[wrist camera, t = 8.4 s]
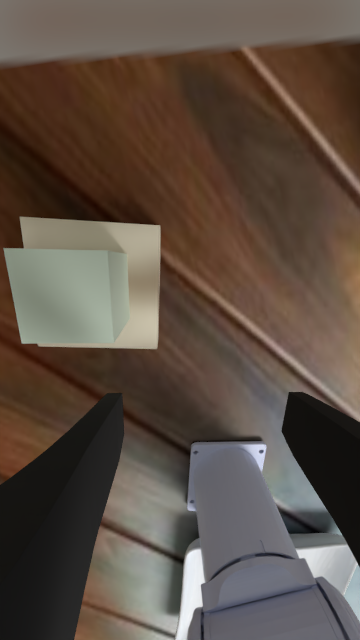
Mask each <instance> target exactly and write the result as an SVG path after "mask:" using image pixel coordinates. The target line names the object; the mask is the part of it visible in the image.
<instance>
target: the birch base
mask: <svg viewBox="0 0 360 640" xmlns="http://www.w3.org/2000/svg"><path fill="white" fill-rule="evenodd" d="M20 224H21V231H22V238H23V245H24V249H62V250H105V251H113V252H119V253H125V254H127V264H128V287H129V309H130V319H129V320H128V322H127V324H126V325H125V327H124V328H123V330H122V331H121V333H120V334H119V336H118V337H117V339H116V341H115V342H114V343H38V346H44V347H90V348H136V349H157V346H158V333H159V289H160V246H161V228H160V225H146V224H130V223H113V222H97V221H81V220H65V219H49V218H33V217H20Z"/></svg>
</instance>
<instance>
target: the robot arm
mask: <svg viewBox="0 0 360 640" xmlns="http://www.w3.org/2000/svg"><path fill="white" fill-rule="evenodd" d="M282 433H283V435H284V437H285V440H286V442H287V444H288V446H289V448H290V450H291V452H292V454H293V456H294V458H295V459H296V461H297V463H298V464H299V466H300V467H301V469H302V471H303V472H304V474H305V475H306V477H307V479H308V480H309V482H310V483H311V485H312V486H313V488H314V490H315V491H316V493H317V494H318V496H319V498H320V499H321V501H322V502H323V504H324V505H325V507H326V509H327V510H328V512H329V513H330V515H331V517H332V518H333V520H334V521H335V523H336V525H337V527H338V528H339V530H340V532H341V533H342V535H343V537H344V539H345V541H346V542H347V544H348V546H349V548H350V550H351V552H352V554H353V556H354V557H355V559H356V561H357V563H358V565H359V567H360V422H358V421H356V420H355V419H353V418H351V417H349V416H347V415H345V414H344V413H342V412H340V411H338V410H336V409H334V408H333V407H331V406H329V405H327V404H325V403H323V402H322V401H320V400H318V399H316V398H314V397H312V396H310V395H308V394H306V393H303V392H289V395H288V400H287V405H286V410H285V415H284V421H283V426H282ZM123 437H124V421H123V400H122V393H107V394H106V395H105V396H104V397H103V398H102V399H101V400H100V401H99V402H98V403H97V404H96V405H95V406H94V407H93V408H92V409H91V410H90V411H89V412H88V413H87V414H86V415H85V416H84V417H83V418H81V419H80V420H79V421H78V422H77V423H76V424H75V425H74V426H73V427H72V428H71V429H70V430H69V431H68V432H67V433H65V434H64V435H63V436H62V437H61V438H60V439H58V440H57V441H56V442H55V443H54V444H53V445H52V446H50V447H49V448H48V449H47V450H46V451H45V452H43V453H42V454H41V455H40V456H38V457H37V458H36V459H35V460H33V461H32V462H31V463H29V464H28V465H27V466H26V467H24V468H23V469H22V470H20V471H19V472H18V473H16V474H15V475H14V476H12V477H11V478H9V479H8V480H7V481H5V482H4V483H3V484H1V485H0V640H74V637H75V632H76V627H77V623H78V618H79V613H80V609H81V604H82V599H83V594H84V590H85V585H86V581H87V576H88V572H89V567H90V563H91V558H92V554H93V549H94V545H95V541H96V537H97V534H98V530H99V526H100V523H101V520H102V516H103V513H104V510H105V506H106V503H107V500H108V496H109V493H110V490H111V486H112V483H113V479H114V476H115V473H116V469H117V466H118V462H119V459H120V453H121V448H122V443H123ZM265 452H266V444H265V443H264V442H262V441H249V442H195V443H193V444H192V445H191V454H190V469H189V484H188V499H187V509H188V510H189V511H196V512H197V521H198V530H199V538H200V547H201V556H202V565H203V573H204V580H205V583H203V584H201V593H202V603H203V606H202V607H198V608H196V609H195V610H194V612H193V616H192V620H191V622H190V625H189V628H188V633H187V640H360V622H359V620H358V619H357V617H356V615H355V613H354V612H353V610H352V609H351V607H350V605H349V604H348V602H347V601H346V599H345V598H344V596H343V595H342V594H341V593H340V591H339V590H338V589H337V588H335V587H334V586H333V585H331V584H330V583H329V582H328V581H327V580H326V579H325V578H324V577H322V576H321V577H317V578H314V577H313V574H312V572H311V570H310V568H309V566H308V564H307V561H306V559H305V558H299V556H298V554H297V551H296V549H295V547H294V545H293V542H292V540H291V538H290V536H289V533H288V531H287V529H286V526H285V524H284V522H283V520H282V517H281V515H280V513H279V511H278V508H277V506H276V504H275V502H274V499H273V497H272V495H271V493H270V490H269V488H268V486H267V484H266V481H265V479H264V477H263V474H262V468H263V463H264V458H265Z"/></svg>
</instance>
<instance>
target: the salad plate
mask: <svg viewBox="0 0 360 640" xmlns="http://www.w3.org/2000/svg"><path fill="white" fill-rule="evenodd" d="M289 536H290V538H291V540H292V542H293V545H294V547H295V549H296V551H297V554H298V556H299V558H305V559H306V561H307V564H308V566H309V568H310V570H311V572H312V574H313V577H314V578H317V577H321V576H322V577H324V578H325V579H326V580H327V581H328V582H329V583H330V584H331V585H333V586H334V587H335V588H337V589H338V590H339V591H340V593H341V594H342V595H343V596H344V594H345V591H346V589H347V587H348V584H349V582H350V580H351V578H352V575H353V573H354V571H355V568H356V566H357V564H358V563H357V561H356V559H355V557H354V556H353V554H352V552H351V550H350V548H349V546H348V544H347V542H346V541H345V539H344V537H343V536H342V535H338V534H331V533H309V534H289ZM203 583H205V580H204V573H203V565H202V556H201V547H200V538H198V539H196V540H194V541H193V542H192V543H191V544H190V545H189V546H188V548H187V551H186V554H185V558H184V565H183V580H182V593H181V604H180V613H179V619H178V626H177V631H176V635H175V640H187V633H188V628H189V625H190V622H191V620H192V616H193V612H194V610H195V609H196V608H198V607H202V606H203V603H202V593H201V584H203Z"/></svg>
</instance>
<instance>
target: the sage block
mask: <svg viewBox="0 0 360 640" xmlns="http://www.w3.org/2000/svg"><path fill="white" fill-rule="evenodd" d="M3 249H4V254H5V259H6V264H7V269H8V274H9V280H10V285H11V290H12V295H13V300H14V306H15V311H16V316H17V321H18V326H19V332H20V337H21V342H22V343H114V342H115V341H116V339H117V337H118V336H119V334H120V333H121V331H122V330H123V328H124V327H125V325H126V324H127V322H128V320H129V319H130V309H129V287H128V264H127V254H125V253H119V252H113V251H105V250H62V249H18V248H3Z"/></svg>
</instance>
